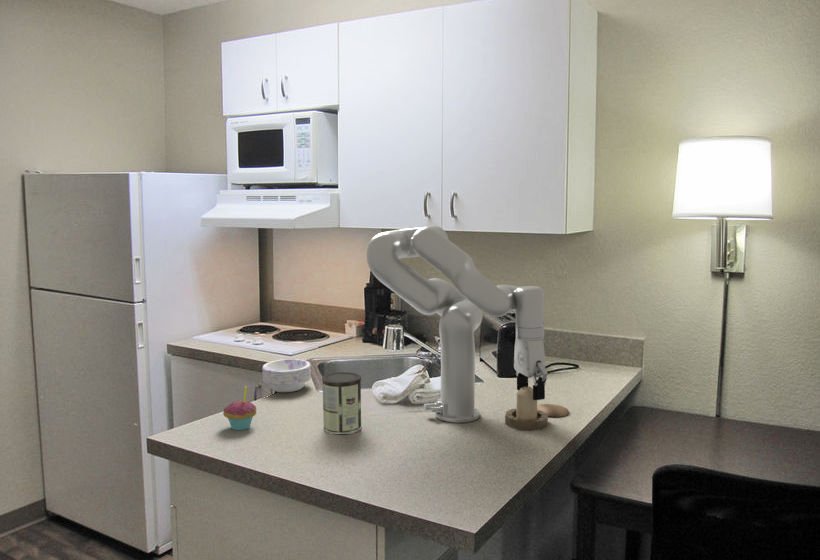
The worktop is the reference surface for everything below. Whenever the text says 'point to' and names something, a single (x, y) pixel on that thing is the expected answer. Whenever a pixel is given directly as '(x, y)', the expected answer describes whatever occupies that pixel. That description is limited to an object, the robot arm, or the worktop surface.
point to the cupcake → (240, 413)
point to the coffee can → (342, 403)
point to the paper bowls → (286, 374)
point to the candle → (526, 404)
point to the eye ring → (526, 421)
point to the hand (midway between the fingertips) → (530, 394)
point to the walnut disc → (553, 410)
